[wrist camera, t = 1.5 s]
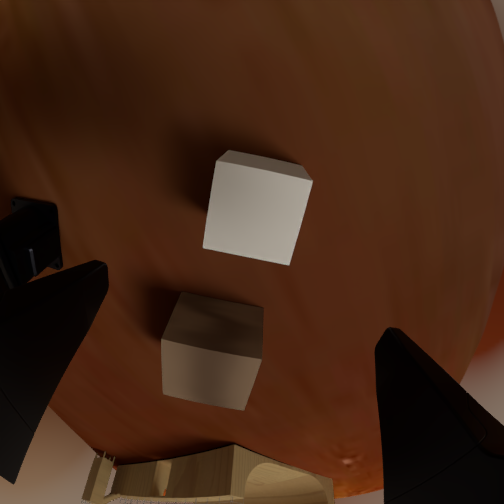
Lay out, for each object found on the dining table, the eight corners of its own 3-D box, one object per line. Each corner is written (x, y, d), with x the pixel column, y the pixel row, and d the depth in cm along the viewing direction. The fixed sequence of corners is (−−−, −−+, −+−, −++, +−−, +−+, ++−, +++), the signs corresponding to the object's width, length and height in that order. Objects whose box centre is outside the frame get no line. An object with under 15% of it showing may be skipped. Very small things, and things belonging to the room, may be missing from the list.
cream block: (216, 217, 21) (202, 247, 16) (228, 149, 19) (216, 160, 14) (284, 231, 21) (289, 265, 17) (301, 165, 19) (312, 181, 14)
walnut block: (178, 347, 27) (163, 393, 22) (182, 290, 24) (161, 338, 18) (248, 361, 27) (243, 410, 22) (263, 307, 24) (262, 359, 19)
